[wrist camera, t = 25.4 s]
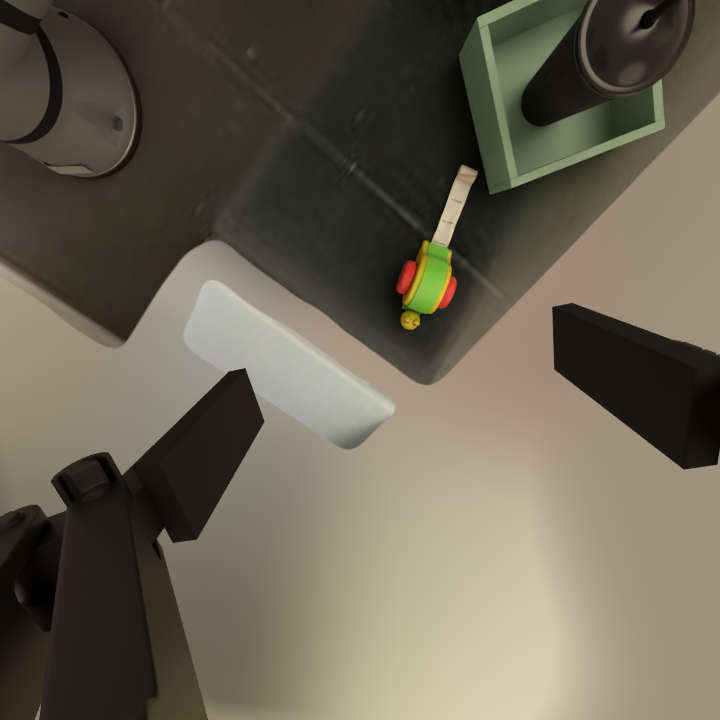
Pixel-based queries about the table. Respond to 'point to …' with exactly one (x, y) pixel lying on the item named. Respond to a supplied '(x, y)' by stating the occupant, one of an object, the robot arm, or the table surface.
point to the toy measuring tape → (434, 260)
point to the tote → (508, 81)
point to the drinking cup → (608, 56)
